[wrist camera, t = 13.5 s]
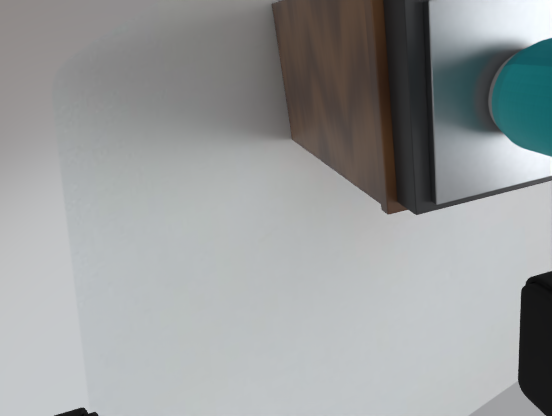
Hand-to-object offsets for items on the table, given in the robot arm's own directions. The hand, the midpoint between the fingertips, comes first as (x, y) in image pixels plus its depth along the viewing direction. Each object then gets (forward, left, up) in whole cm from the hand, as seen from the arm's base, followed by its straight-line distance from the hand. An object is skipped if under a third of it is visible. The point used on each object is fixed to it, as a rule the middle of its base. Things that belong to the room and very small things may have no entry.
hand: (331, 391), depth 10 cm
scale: (-2, +17, -18) cm, 25 cm away
